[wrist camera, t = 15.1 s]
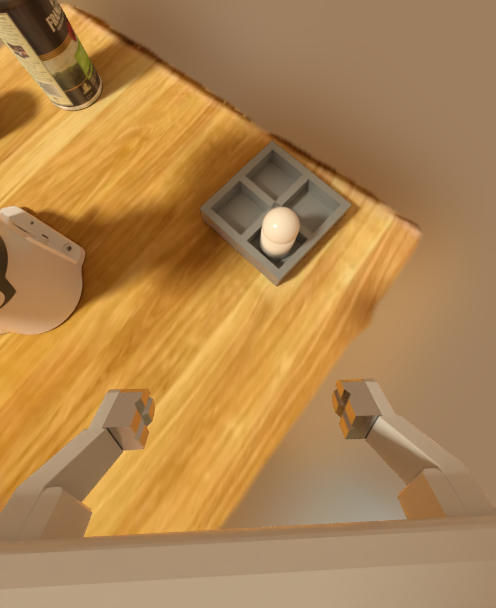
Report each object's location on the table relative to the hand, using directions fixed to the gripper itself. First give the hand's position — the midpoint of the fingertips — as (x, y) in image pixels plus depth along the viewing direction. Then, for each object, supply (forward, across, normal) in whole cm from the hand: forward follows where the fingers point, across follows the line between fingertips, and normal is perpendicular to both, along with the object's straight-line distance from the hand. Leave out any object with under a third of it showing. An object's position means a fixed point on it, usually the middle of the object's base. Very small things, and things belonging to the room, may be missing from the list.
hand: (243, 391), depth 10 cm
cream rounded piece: (+30, -6, +6) cm, 31 cm away
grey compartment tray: (+34, -6, +2) cm, 35 cm away
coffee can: (+55, +30, -17) cm, 65 cm away
